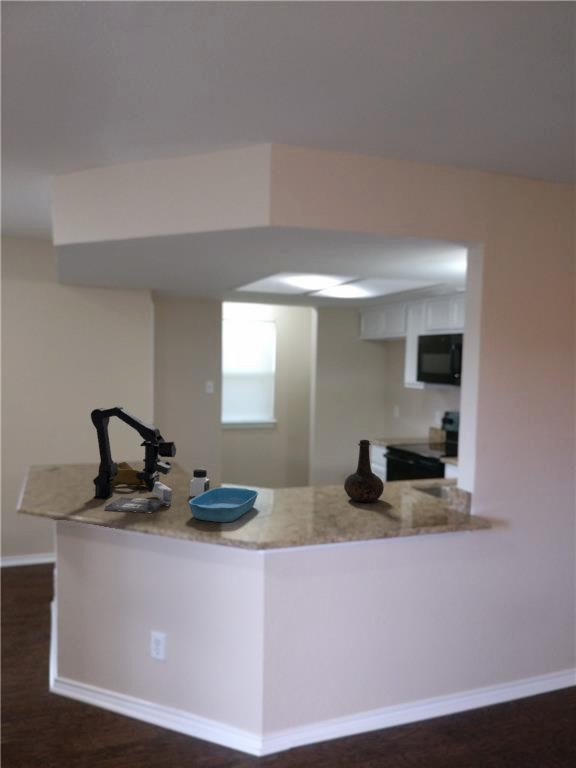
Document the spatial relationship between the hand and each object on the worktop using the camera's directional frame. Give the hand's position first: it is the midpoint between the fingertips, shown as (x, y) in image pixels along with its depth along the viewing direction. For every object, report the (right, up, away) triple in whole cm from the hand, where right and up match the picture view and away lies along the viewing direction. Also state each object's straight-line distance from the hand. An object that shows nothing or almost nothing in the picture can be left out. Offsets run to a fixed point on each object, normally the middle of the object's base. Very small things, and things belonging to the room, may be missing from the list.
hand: (151, 492), depth 242 cm
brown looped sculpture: (-16, -2, +24) cm, 29 cm away
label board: (-2, -4, -10) cm, 11 cm away
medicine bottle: (+19, -4, +13) cm, 23 cm away
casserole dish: (+34, -6, -14) cm, 37 cm away
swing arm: (+4, -2, 0) cm, 5 cm away
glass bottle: (+95, -7, +13) cm, 96 cm away
